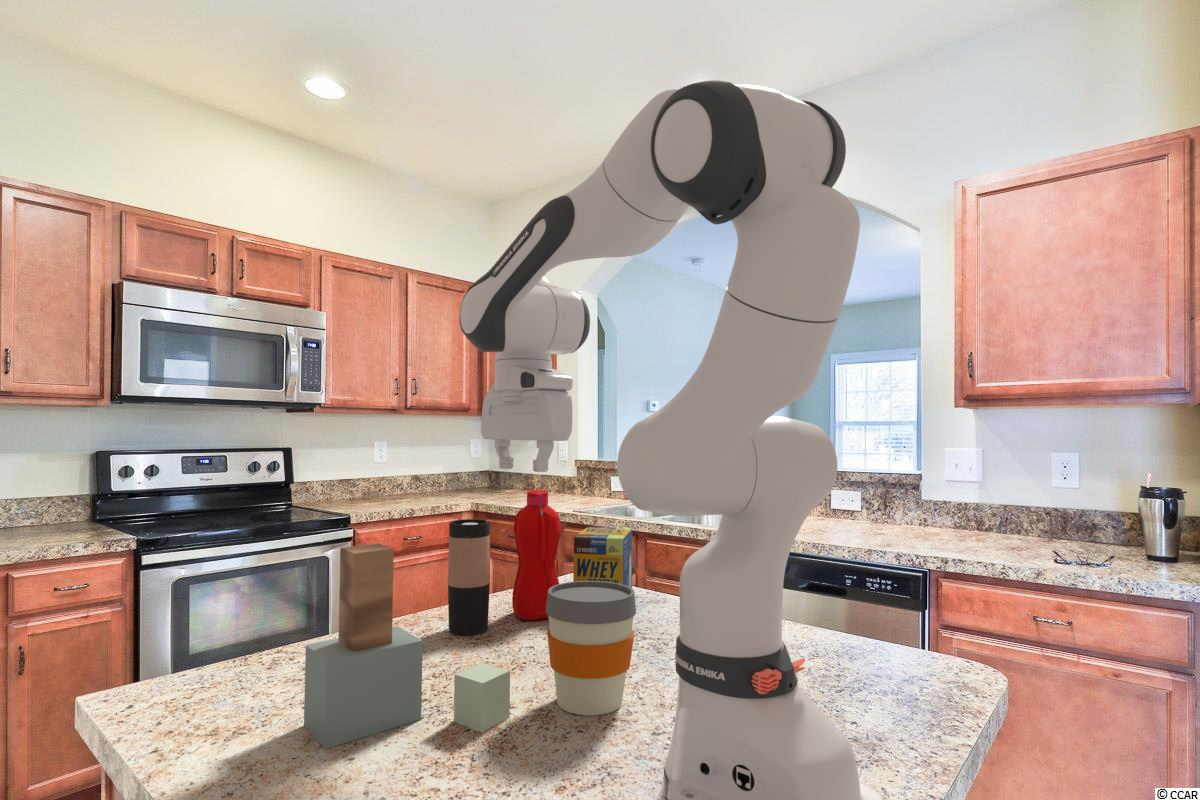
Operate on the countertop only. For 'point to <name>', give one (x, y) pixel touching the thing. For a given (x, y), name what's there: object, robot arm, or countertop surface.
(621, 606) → the reusable coffee cup
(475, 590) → the travel mug
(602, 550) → the protein box
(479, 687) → the cube
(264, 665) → the countertop surface
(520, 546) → the water bottle
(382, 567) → the pillar
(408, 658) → the base block
